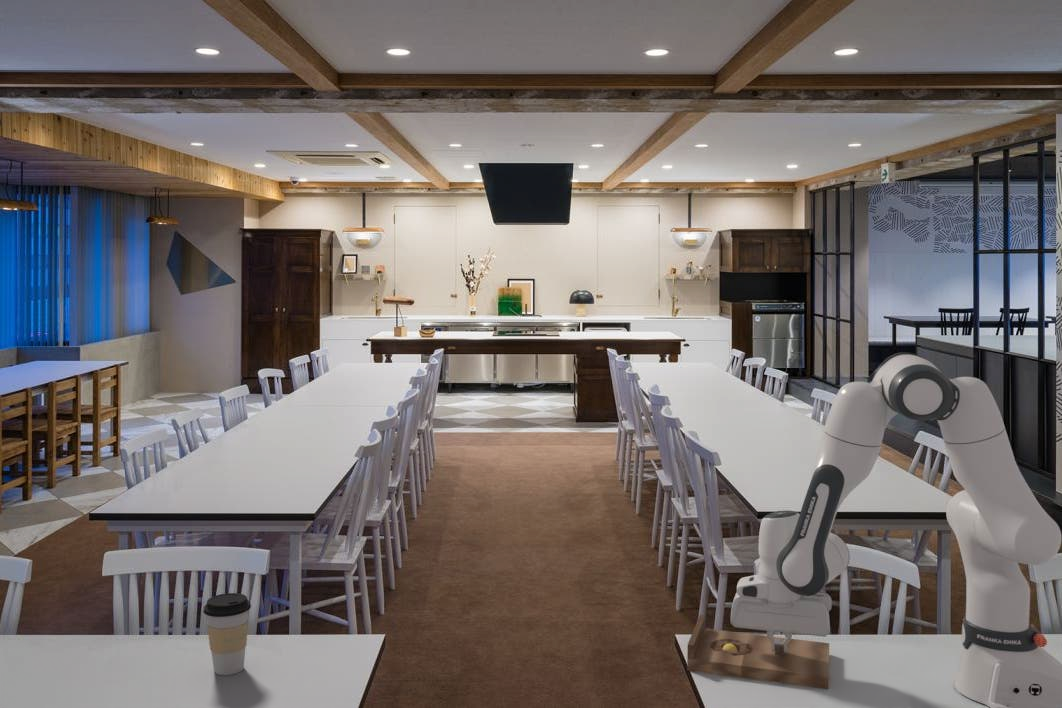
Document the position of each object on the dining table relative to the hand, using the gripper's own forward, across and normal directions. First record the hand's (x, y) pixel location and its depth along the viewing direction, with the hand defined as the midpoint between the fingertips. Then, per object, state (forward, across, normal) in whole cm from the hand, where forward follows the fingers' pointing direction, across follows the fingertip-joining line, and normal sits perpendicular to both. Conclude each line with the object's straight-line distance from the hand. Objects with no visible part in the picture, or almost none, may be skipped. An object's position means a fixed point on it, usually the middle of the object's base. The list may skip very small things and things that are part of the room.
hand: (779, 650), depth 192 cm
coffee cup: (+2, +109, +39) cm, 116 cm away
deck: (+3, +4, 0) cm, 5 cm away
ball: (+1, +10, 0) cm, 10 cm away
